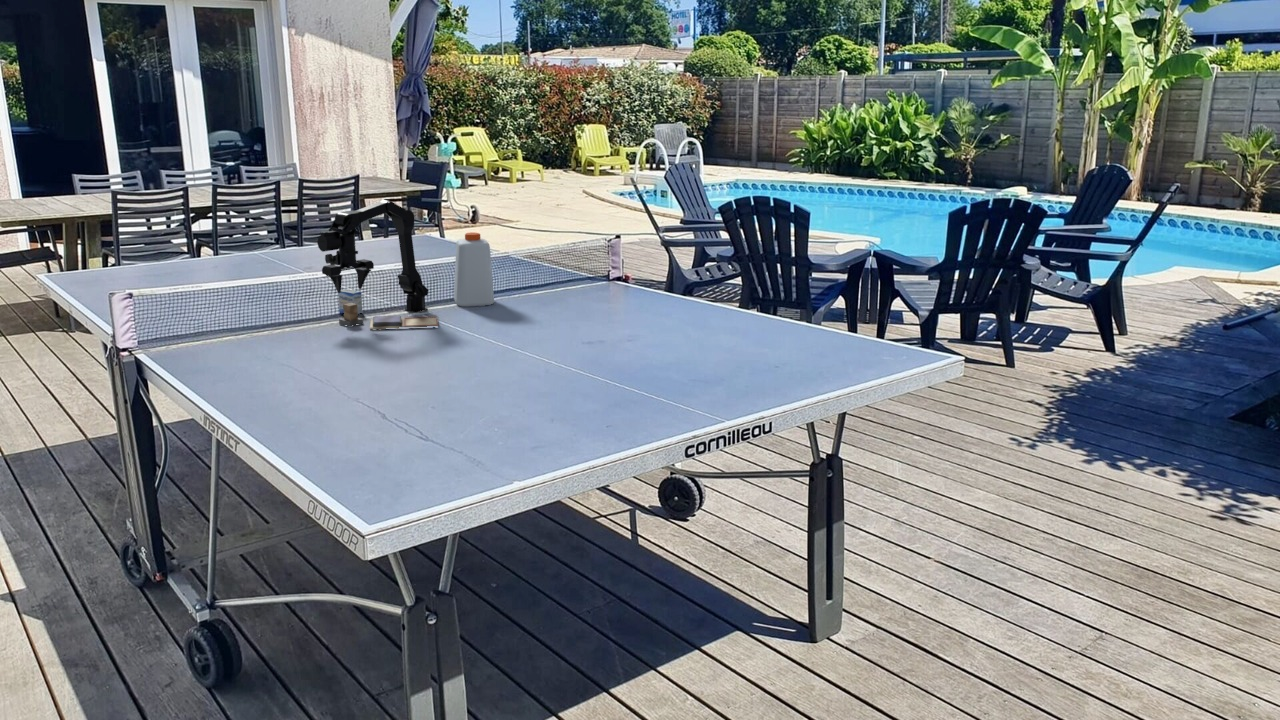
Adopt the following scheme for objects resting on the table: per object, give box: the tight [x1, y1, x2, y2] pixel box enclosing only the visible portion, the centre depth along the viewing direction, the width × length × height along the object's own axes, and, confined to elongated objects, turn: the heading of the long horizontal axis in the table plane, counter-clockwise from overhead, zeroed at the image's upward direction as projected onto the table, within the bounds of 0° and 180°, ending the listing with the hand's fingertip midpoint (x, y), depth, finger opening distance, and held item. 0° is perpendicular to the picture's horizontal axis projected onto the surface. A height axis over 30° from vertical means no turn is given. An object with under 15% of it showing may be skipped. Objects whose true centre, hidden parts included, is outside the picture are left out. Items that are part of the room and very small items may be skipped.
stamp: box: [338, 303, 364, 327], centre depth 366 cm, size 6×6×8 cm
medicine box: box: [337, 289, 363, 314], centre depth 381 cm, size 8×4×9 cm, turn 62°
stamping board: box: [369, 315, 439, 330], centre depth 367 cm, size 24×12×2 cm, turn 103°
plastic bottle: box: [453, 231, 495, 308], centre depth 400 cm, size 15×15×28 cm
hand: (349, 290), depth 363 cm, fingers open, 9 cm apart
